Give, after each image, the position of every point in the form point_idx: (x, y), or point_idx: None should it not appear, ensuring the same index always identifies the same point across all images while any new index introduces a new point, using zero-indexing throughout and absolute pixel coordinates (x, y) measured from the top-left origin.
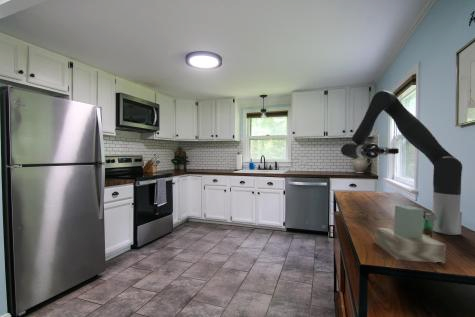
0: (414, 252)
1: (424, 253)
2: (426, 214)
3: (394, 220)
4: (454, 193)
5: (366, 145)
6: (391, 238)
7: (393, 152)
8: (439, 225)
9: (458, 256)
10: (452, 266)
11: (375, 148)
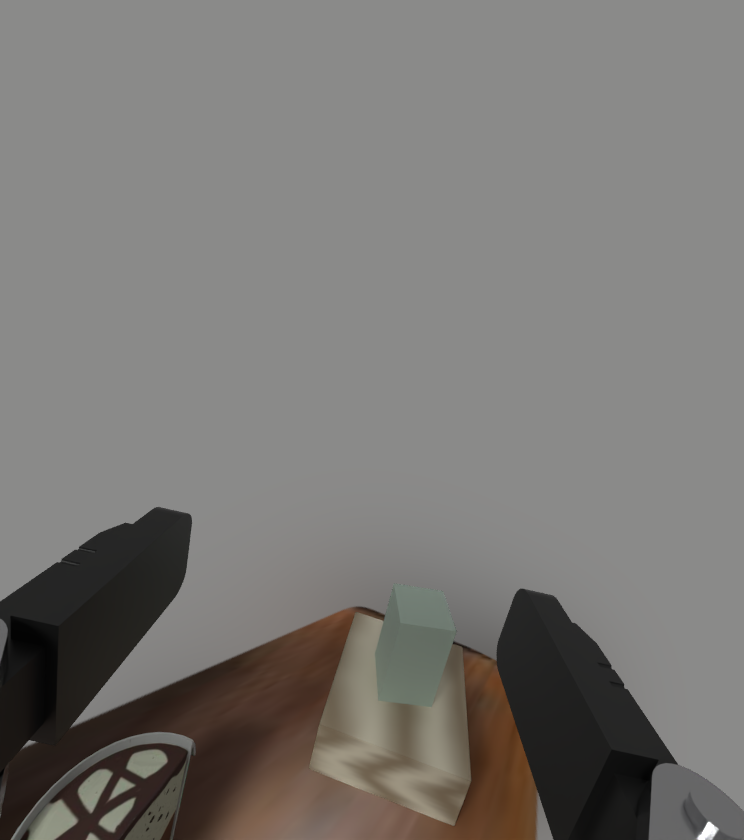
0: None
1: None
2: (104, 800)
3: (442, 673)
4: None
5: None
6: (463, 674)
7: (121, 645)
8: None
9: (264, 665)
10: (347, 633)
11: (591, 675)
